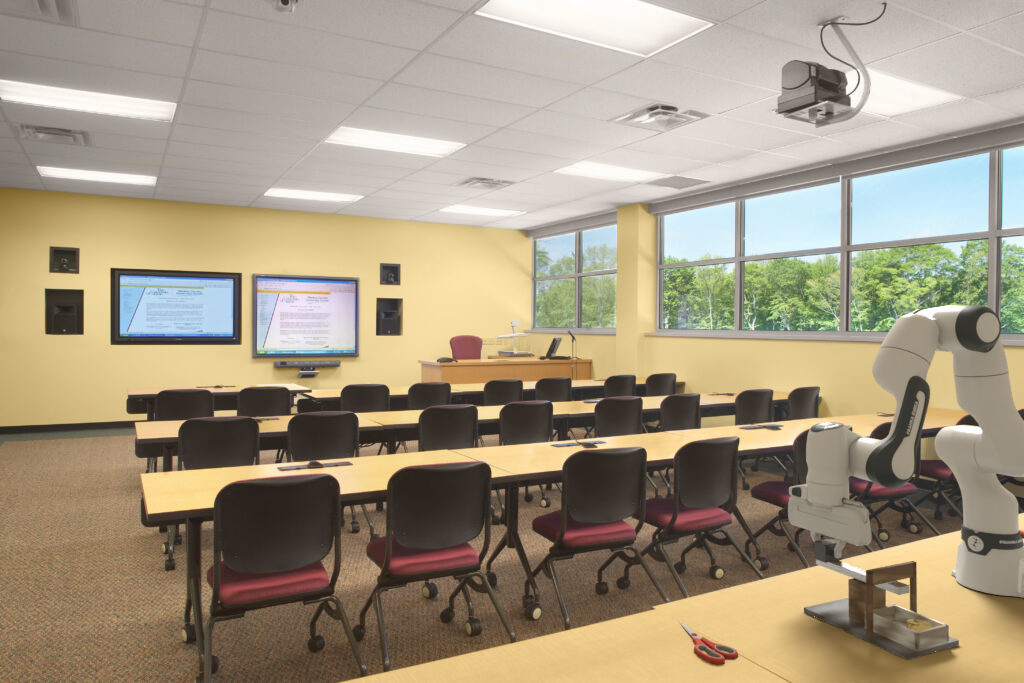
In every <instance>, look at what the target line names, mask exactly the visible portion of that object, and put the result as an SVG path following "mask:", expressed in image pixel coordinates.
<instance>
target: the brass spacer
mask: <svg viewBox="0 0 1024 683" xmlns="http://www.w3.org/2000/svg"><path fill="white" fill-rule="evenodd" d="M907 628H909V629H912V630H914V631H916V632H917V631H921V630H925V629H929V628H933V626H932V624H930V623H929V622H926V621H923V620H918V619H909V620H907Z"/></svg>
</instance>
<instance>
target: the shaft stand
mask: <svg viewBox="0 0 1024 683" xmlns="http://www.w3.org/2000/svg"><path fill="white" fill-rule="evenodd" d="M865 570H866V583H865V582H863V581H860V580H857V579H855V578H850V579H848V580H847V581H848V597H845V598H841V599H837V600H832V601H828V602H823V603H819V604H813V605H809V606H806V607H803V613H805V612H806V614H807V613H808V614H807V615H809V614H810V615H809V616H811V615H812V616H811V617H814V616H815V617H814V618H816V617H817V618H816V619H818V618H819V619H818V620H820V619H821V620H820V621H822V620H823V622H824V621H825V622H824V623H826V622H827V624H829V625H831V626H833V627H835V628H837V629H839V630H842V631H844V632H846V633H848V634H851V635H852V636H854V637H857V638H859V639H861V640H863V641H866V642H867V643H869V644H872V645H874V646H875V647H879V648H880V649H882V648H883V650H885V651H887V652H889V653H891V654H893V655H895V656H898V657H899V658H902V659H904V660H906V659H907V661H908V659H909V660H913V659H915V658H918V657H919V656H920V657H923V656H926V655H925V654H927V655H930V654H933V653H932V652H934V653H936V652H935V651H937V652H941V651H944V650H948V649H951V648H954V646H955V647H958V646H960V644H959V642H960V641H959V639H957V638H954V637H951V636H950V633H949V629H950V628H949V624H946V623H944V622H941V621H939V620H936V619H933V618H931V617H928V616H926V615H923V614H920V613H918V607H917V606H918V602H917V599H918V598H917V596H918V595H917V590H918V589H917V587H918V586H917V584H918V583H917V580H918V579H917V571H918V570H917V561H915V560H911V561H906V562H902V563H895V564H891V565H885V566H881V567H875V568H871V569H865ZM906 579H909V609H908V608H905V607H902V606H900V605H898V604H889V605H887V600H886V598H887V595H886V591H887V590H884V589H882V588H879V587H876V586H874V585H878V584H883V583H888V582H892V581H901V580H906ZM909 619H918V620H923V621H926V622H929V623H930V624H932V626H933V628H929V629H925V630H921V631H917V632H916V631H914V630H912V629H909V628H907V620H909ZM940 650H941V651H940ZM929 653H930V654H929ZM920 657H919V658H920ZM912 658H913V659H912Z"/></svg>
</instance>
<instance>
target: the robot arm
mask: <svg viewBox="0 0 1024 683" xmlns="http://www.w3.org/2000/svg"><path fill="white" fill-rule="evenodd" d="M1001 331H1002V324H1001V319H1000V318H999V316H998V315H997V313H996V312H995V310H993V309H992V308H990V307H988V306H984V305H979V304H978V305H977V304H970V305H965V304H963V305H962V304H959V305H958V304H956V305H955V304H953V305H952V304H949V305H947V304H946V305H944V306H935V307H928V308H927V307H922V308H918V309H915V310H912V311H910V312H909V313H907V314H904V315H901V316H900V317H898V318H897V320H895V322H894V323H893V325H892V326H891V328H890V329H889V330H888V333H887V334H886V336H885V337H884V339H883V340H882V343H881V345H880V347H879V349H878V351H877V354H876V355H875V357H874V360H873V363H872V367H871V368H872V369H871V373H872V377H873V378H874V380H875V382H876V384H877V385H879V387H880V388H882V389H883V390H884V391H886V392H888V393H889V394H891V395H892V396H894V398H895V400H896V407H895V410H894V411H895V412H894V414H893V418H892V421H891V424H890V425H891V426H890V430H889V433H888V435H887V436H886V437H885V438H883V439H877V438H872V437H868V436H863V435H862V434H858V433H856V432H854V431H851V430H850V429H849V428H847V427H846V425H845V424H844V423H841V422H837V421H828V422H825V421H824V422H820V423H816V424H813V425H812V426H811V427H810V428H809V429H808V430H809V431H808V432H807V438H806V444H805V446H806V447H805V460H806V464H807V474H806V479H805V480H806V482H805V483H802V484H797V485H793V486H789V487H788V494H789V495H790V496H789V499H788V504H787V505H788V506H787V516H788V517H787V518H788V521H789V524H791V525H792V526H795V527H798V528H801V529H804V530H807V531H810V534H809V535H810V537H811V540H812V541H813V543H814V541H819V540H822V538H821V536H825V537H829V538H831V539H833V540H834V543H837V544H836V546H835V548H834V549H831V556H832V557H834V558H841V559H842V557H843V556H842V555H843V554H842V552H843V549H844V548H845V546H846V545H847V543H848V544H850V545H854V546H858V547H862V546H863V547H864V546H867V545H870V543H871V542H872V538H873V537H872V528H871V522H870V517H869V516H870V514H869V513H870V512H869V509H868V508H867V507H866V506H865V505H864V504H863V503H862V502H861V501H858V500H857V501H855V500H852V499H850V480H849V478H850V477H855V478H858V479H859V480H860V479H861V480H864V481H868V482H872V483H874V484H876V485H879V486H882V487H884V488H887V489H892V490H893V489H899V488H901V487H903V486H905V485H906V484H907V483H908V482H909V481H911V479H912V478H913V476H914V475H915V472H916V467H917V454H918V447H919V445H920V444H919V443H920V440H921V435H922V432H923V427H924V424H925V419H926V416H927V412H928V408H929V405H930V404H929V403H930V399H931V398H930V397H931V387H930V385H929V383H928V382H927V378H928V376H927V375H928V372H929V369H930V367H931V364H932V362H933V359H934V356H935V354H936V352H950V353H951V354H952V368H953V370H952V371H953V378H954V386H955V395H956V402H957V404H958V406H959V408H961V410H963V411H964V412H966V413H967V414H968V415H970V416H971V417H972V418H973V419H974V420H975V422H976V423H977V425H978V426H977V425H969V424H959V425H948V426H945V427H942V428H941V429H940V430H939V431H938V433H937V434H936V435H935V439H934V451H935V453H936V455H937V456H938V458H939V459H940V460H941V461H943V462H944V463H945V465H947V467H948V468H949V469H950V470H951V473H952V474H953V476H954V477H955V479H956V481H957V484H958V486H959V490H960V494H961V499H962V511H963V512H962V514H963V515H962V516H963V518H962V519H963V523H962V524H961V527H960V528H961V529H960V534H961V535H960V536H961V537H960V539H961V540H962V541H961V542H959V543H958V545H957V551H956V561H955V568H953V569H951V572H950V573H951V575H952V576H953V577H955V581H956V582H957V583H958V584H960V585H961V586H964V587H966V588H967V589H971V590H974V591H978V592H982V593H986V594H992V595H996V596H997V595H998V596H1005V597H1016V598H1017V597H1018V598H1024V530H1022V529H1019V502H1018V499H1017V498H1016V496H1015V495H1014V493H1012V492H1010V491H1009V490H1008V489H1007V488H1006V487H1004V485H1002V484H1001V482H1000V481H999V478H998V476H997V474H998V475H1002V476H1008V477H1013V478H1024V419H1023V418H1022V416H1021V415H1020V413H1019V411H1018V409H1017V407H1016V405H1015V402H1014V398H1013V394H1012V393H1013V392H1012V386H1011V381H1010V373H1009V364H1008V360H1007V356H1006V351H1005V348H1004V346H1003V343H1002V342H1003V341H1002V339H1001V337H1000V335H1001Z"/></svg>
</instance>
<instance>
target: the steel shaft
mask: <svg viewBox="0 0 1024 683" xmlns="http://www.w3.org/2000/svg"><path fill="white" fill-rule="evenodd" d="M813 544H814V546H813V547H814V553H813V554H814V560H815V564H816V565H818V566H821V567H823V568H825V569H828V570H830V571H834V572H837V573H839V574H842V575H844V576H846V577H847V576H848V577H850V578H851V579H853V578H855V579H857V580H860V581H863V582H865V583H866V570H867V569H864V568H860V567H859V566H856V565H853V564H850V563H847V562H844V561H842V557H841V558H834V557H832V556H831V549H834V548H835V546H836V544H837V543H834V538H826V539H821V540H819V541H814V542H813ZM874 586H876V587H879V588H882V589H884V590H886V591H888V592H889V593H892V594H894V595H898V596H901V595H906V594H910V584H907V583H903V582H901V581H899V580H897V581H892V582H888V583H883V584H878V585H874Z"/></svg>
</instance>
